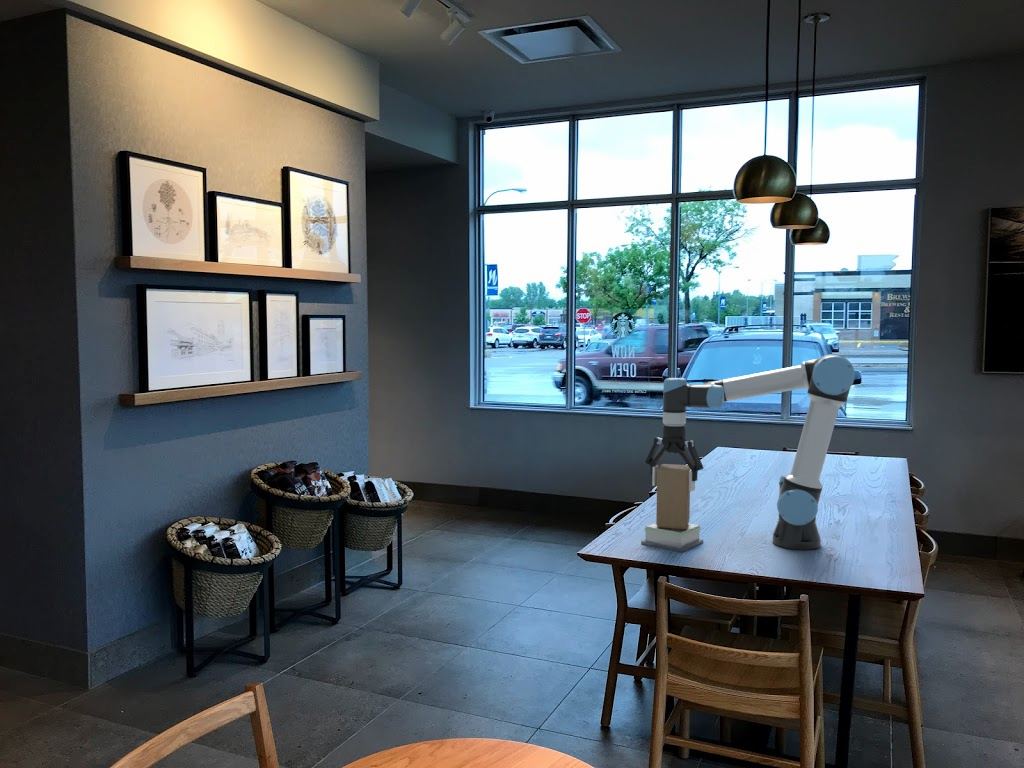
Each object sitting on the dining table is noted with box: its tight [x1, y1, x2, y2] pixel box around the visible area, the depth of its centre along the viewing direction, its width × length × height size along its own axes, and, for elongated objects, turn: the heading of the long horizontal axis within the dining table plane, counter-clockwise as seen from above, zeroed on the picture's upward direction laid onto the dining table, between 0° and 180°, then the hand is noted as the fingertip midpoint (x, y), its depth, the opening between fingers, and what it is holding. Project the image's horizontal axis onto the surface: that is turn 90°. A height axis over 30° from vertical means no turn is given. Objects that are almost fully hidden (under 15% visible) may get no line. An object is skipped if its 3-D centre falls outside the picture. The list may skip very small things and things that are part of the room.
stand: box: [640, 522, 704, 553], centre depth 268 cm, size 15×15×6 cm
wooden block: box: [655, 463, 691, 530], centre depth 267 cm, size 10×10×20 cm
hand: (673, 488), depth 267 cm, fingers open, 13 cm apart
